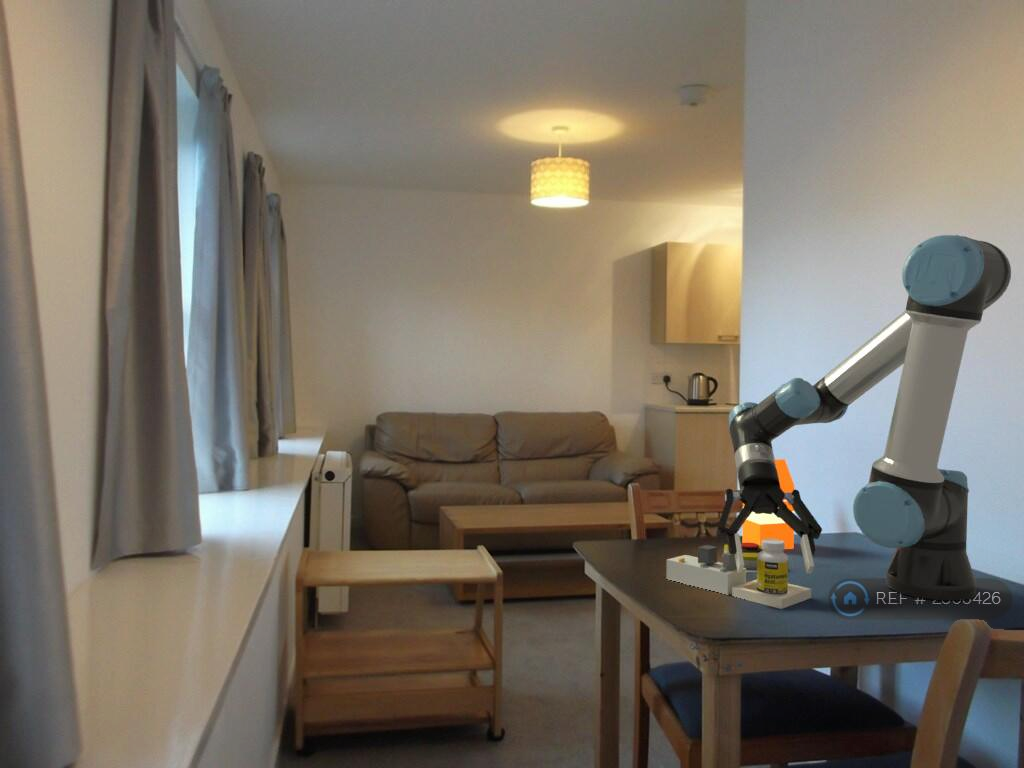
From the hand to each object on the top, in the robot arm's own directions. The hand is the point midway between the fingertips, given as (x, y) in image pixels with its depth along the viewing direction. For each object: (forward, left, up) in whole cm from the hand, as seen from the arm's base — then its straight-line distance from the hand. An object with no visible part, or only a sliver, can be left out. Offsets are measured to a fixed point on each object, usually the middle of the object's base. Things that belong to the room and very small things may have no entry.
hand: (775, 569), depth 151 cm
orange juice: (+25, -38, -6) cm, 46 cm away
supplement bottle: (+2, -2, -6) cm, 6 cm away
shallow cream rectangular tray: (+2, -2, -6) cm, 6 cm away
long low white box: (+15, 0, -6) cm, 16 cm away
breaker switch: (+15, 0, -2) cm, 15 cm away
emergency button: (+18, -21, -7) cm, 28 cm away
